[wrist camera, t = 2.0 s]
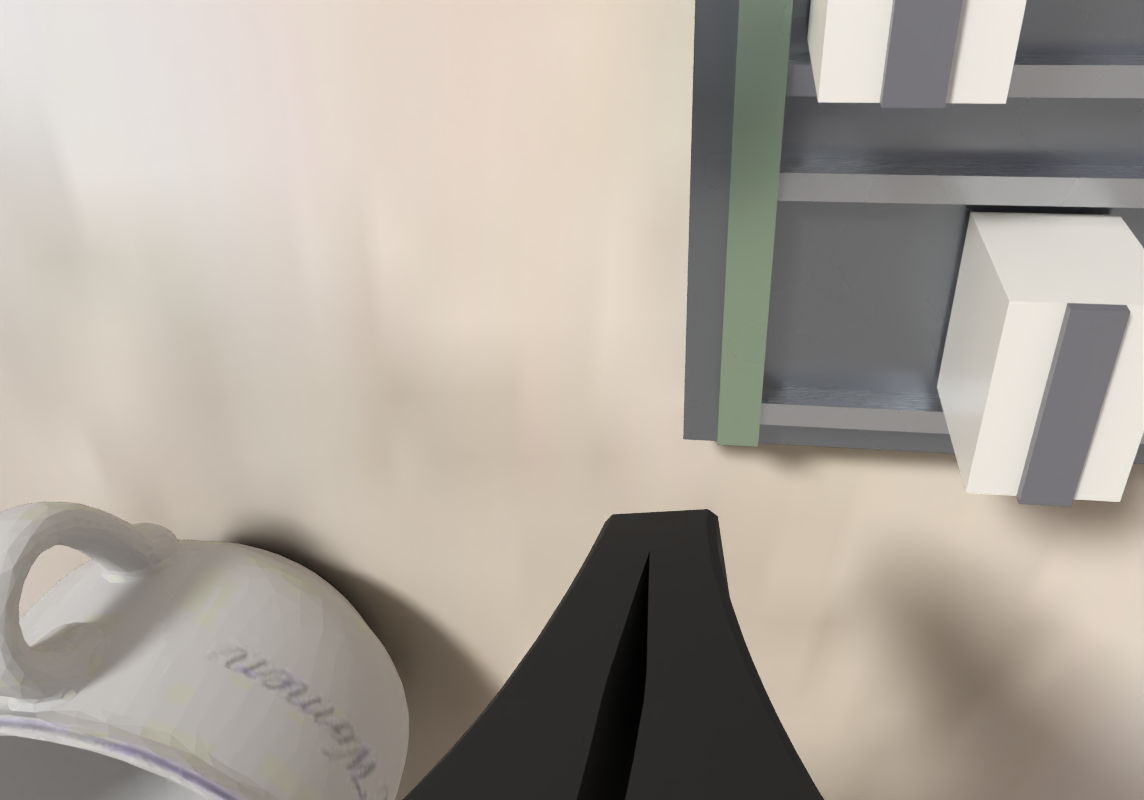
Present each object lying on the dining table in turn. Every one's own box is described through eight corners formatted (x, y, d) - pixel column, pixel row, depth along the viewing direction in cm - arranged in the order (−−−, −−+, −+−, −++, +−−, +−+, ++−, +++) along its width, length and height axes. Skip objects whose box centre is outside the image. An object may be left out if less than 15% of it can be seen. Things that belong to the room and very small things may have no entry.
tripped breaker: (1119, 215, 17) (1191, 314, 14) (1069, 393, 19) (1123, 510, 16) (970, 211, 17) (1012, 307, 15) (936, 386, 19) (967, 500, 17)
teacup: (445, 770, 32) (365, 1048, 25) (115, 721, 33) (-44, 976, 26) (423, 401, 24) (298, 667, 17) (-12, 351, 25) (-286, 584, 18)
